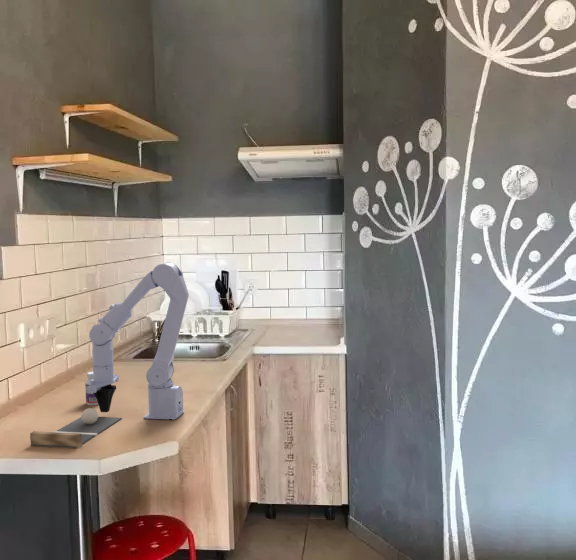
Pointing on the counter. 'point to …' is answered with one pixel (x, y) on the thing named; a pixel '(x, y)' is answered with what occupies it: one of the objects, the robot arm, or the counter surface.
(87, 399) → the pill bottle
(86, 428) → the lane
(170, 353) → the robot arm
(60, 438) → the backstop rail
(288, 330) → the counter surface
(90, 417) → the ball
